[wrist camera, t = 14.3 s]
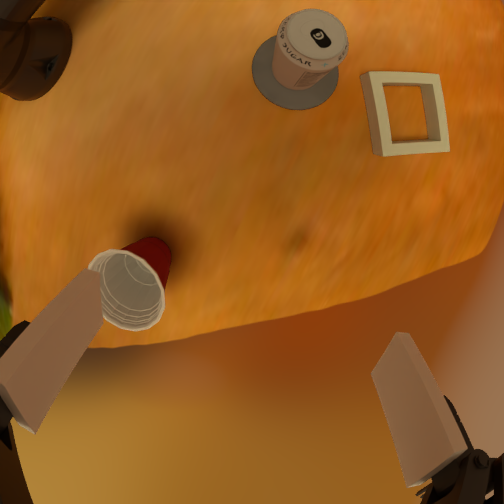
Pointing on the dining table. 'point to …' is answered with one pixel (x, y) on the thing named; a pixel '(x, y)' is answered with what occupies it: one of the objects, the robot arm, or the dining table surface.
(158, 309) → the plastic cup
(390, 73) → the frame
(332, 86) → the coaster
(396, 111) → the dining table surface
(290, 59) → the energy drink can
